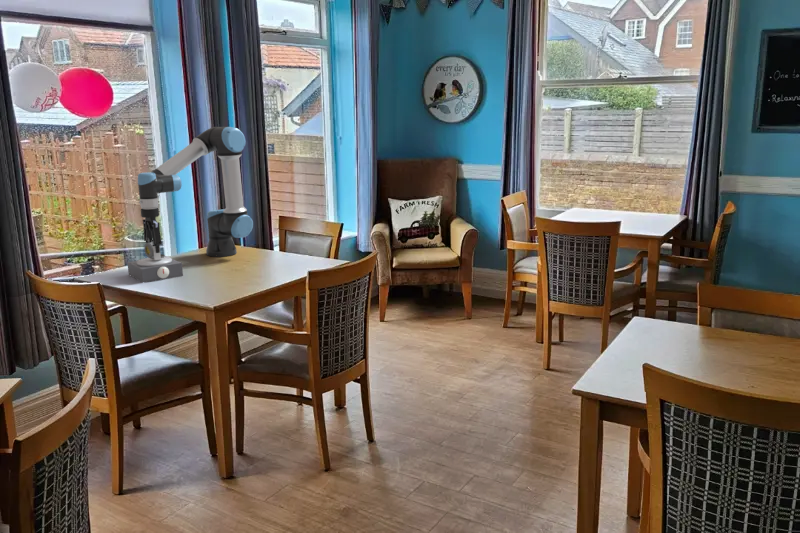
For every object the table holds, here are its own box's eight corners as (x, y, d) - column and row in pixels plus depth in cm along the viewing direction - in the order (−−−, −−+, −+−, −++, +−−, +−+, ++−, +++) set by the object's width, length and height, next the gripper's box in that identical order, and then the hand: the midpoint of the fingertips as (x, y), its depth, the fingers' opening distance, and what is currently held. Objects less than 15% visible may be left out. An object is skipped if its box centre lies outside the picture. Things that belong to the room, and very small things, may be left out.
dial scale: (128, 275, 308) (127, 260, 306) (167, 268, 319) (166, 254, 317) (143, 283, 294) (142, 267, 292) (183, 276, 305) (182, 261, 303)
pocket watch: (167, 256, 309) (165, 235, 306) (159, 260, 301) (157, 238, 298) (150, 256, 310) (148, 234, 307) (141, 260, 302) (139, 238, 299)
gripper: (132, 206, 304) (137, 255, 310) (149, 211, 290) (154, 263, 295) (149, 204, 309) (154, 253, 315) (166, 209, 294) (171, 260, 300)
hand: (154, 258), depth 305 cm, fingers closed on pocket watch, 7 cm apart
